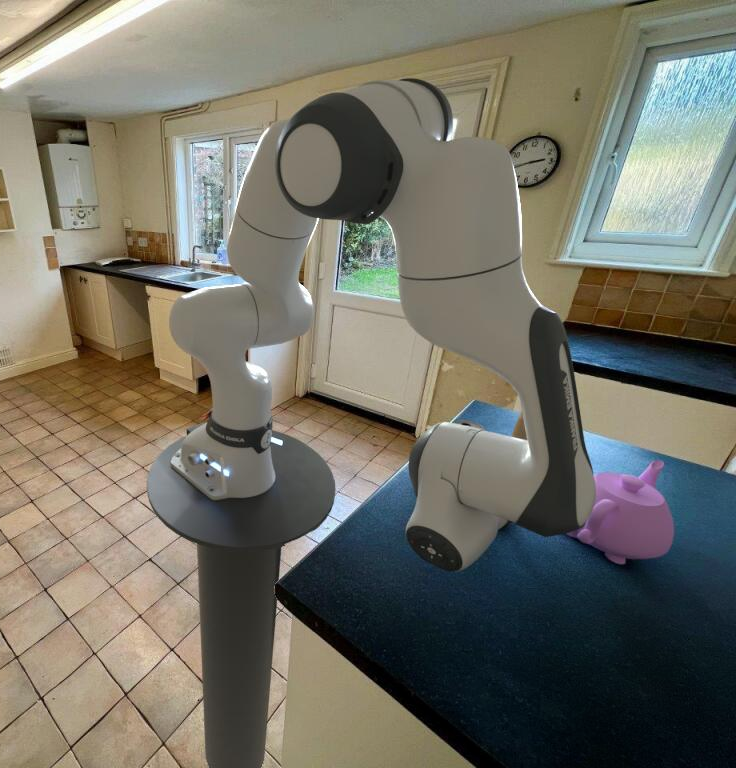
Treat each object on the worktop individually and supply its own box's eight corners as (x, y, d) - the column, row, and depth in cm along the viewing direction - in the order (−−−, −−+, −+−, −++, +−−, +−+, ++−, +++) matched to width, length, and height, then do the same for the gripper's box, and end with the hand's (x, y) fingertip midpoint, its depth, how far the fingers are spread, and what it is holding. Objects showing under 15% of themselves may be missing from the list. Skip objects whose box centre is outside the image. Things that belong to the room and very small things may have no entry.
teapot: (586, 493, 80) (612, 439, 75) (685, 543, 69) (724, 484, 64) (527, 529, 72) (552, 471, 67) (628, 593, 61) (668, 529, 55)
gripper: (578, 513, 52) (603, 466, 60) (419, 445, 66) (456, 414, 74) (561, 549, 55) (588, 499, 63) (412, 476, 69) (449, 443, 77)
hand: (515, 453), depth 68 cm, fingers closed on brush, 3 cm apart
